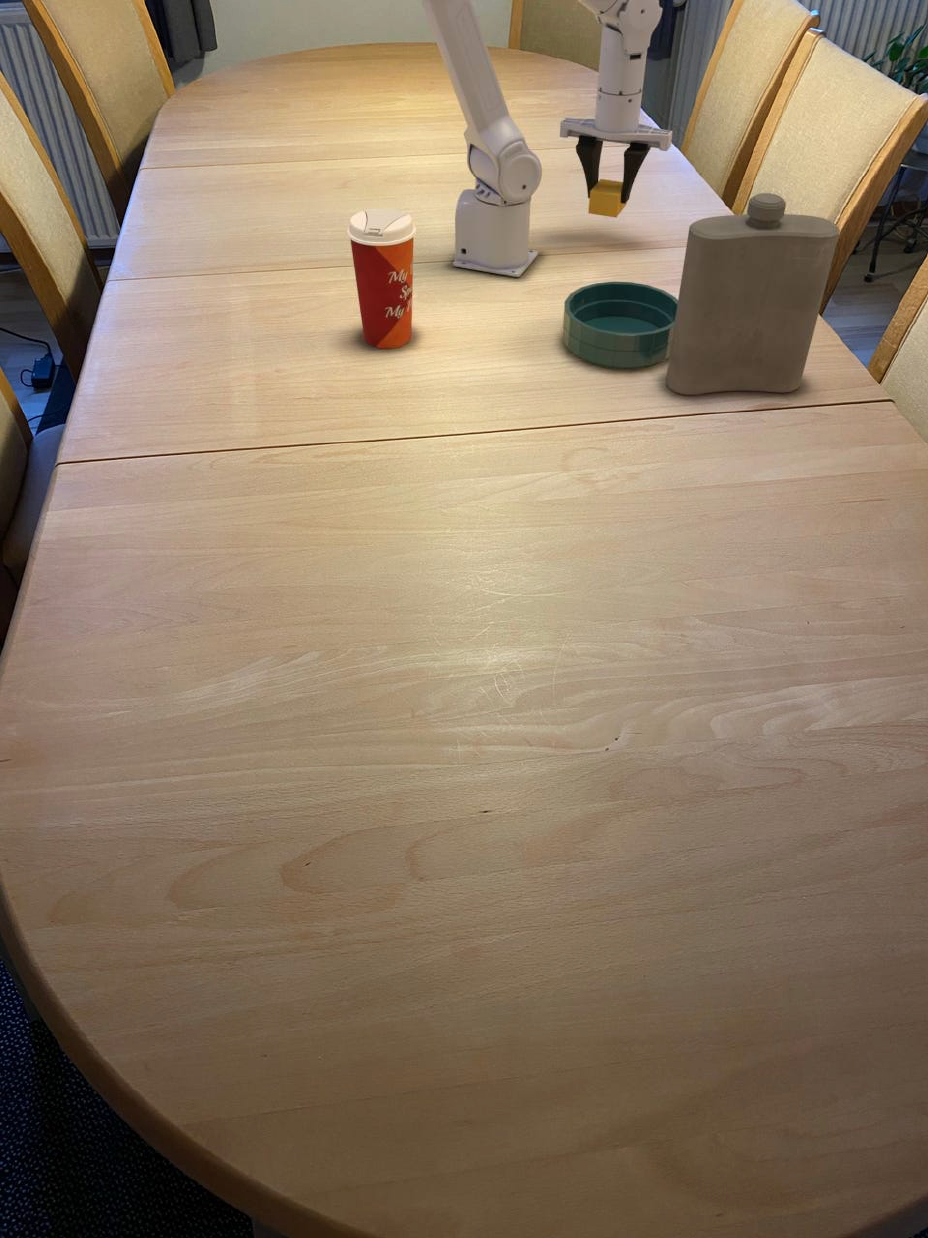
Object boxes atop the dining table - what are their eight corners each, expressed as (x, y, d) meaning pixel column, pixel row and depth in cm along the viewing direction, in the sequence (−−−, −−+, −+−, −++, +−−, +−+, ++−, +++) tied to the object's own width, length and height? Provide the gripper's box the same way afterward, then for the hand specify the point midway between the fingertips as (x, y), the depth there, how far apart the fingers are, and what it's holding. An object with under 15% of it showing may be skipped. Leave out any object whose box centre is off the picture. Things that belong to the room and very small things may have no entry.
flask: (790, 367, 113) (834, 186, 99) (805, 393, 109) (854, 208, 95) (659, 370, 112) (686, 189, 99) (670, 396, 108) (699, 211, 95)
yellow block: (588, 213, 135) (590, 190, 133) (598, 200, 138) (600, 178, 136) (616, 217, 134) (618, 194, 132) (626, 204, 137) (628, 182, 135)
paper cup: (411, 355, 115) (406, 235, 105) (347, 349, 116) (337, 230, 107) (426, 324, 121) (423, 208, 111) (365, 319, 122) (357, 203, 112)
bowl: (546, 358, 114) (548, 322, 111) (581, 308, 124) (584, 273, 121) (662, 381, 111) (667, 344, 108) (689, 328, 120) (695, 292, 117)
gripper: (683, 86, 126) (668, 195, 136) (574, 74, 130) (566, 181, 140) (670, 102, 121) (655, 214, 131) (557, 88, 125) (550, 198, 135)
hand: (608, 198), depth 135 cm, fingers closed on yellow block, 4 cm apart
